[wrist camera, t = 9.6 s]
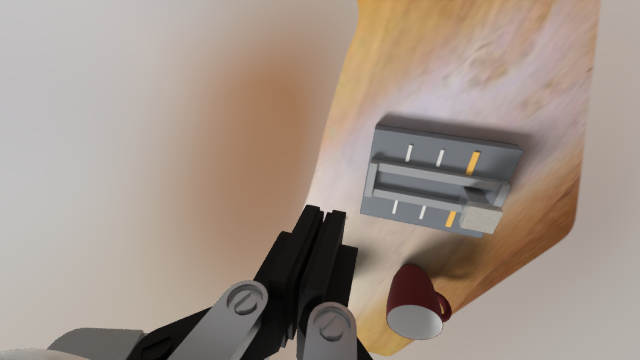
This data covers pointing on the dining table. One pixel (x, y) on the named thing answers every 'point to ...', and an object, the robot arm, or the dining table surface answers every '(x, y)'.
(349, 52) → the dining table surface
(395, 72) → the dining table surface
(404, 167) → the console
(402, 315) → the mug
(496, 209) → the fader tab
